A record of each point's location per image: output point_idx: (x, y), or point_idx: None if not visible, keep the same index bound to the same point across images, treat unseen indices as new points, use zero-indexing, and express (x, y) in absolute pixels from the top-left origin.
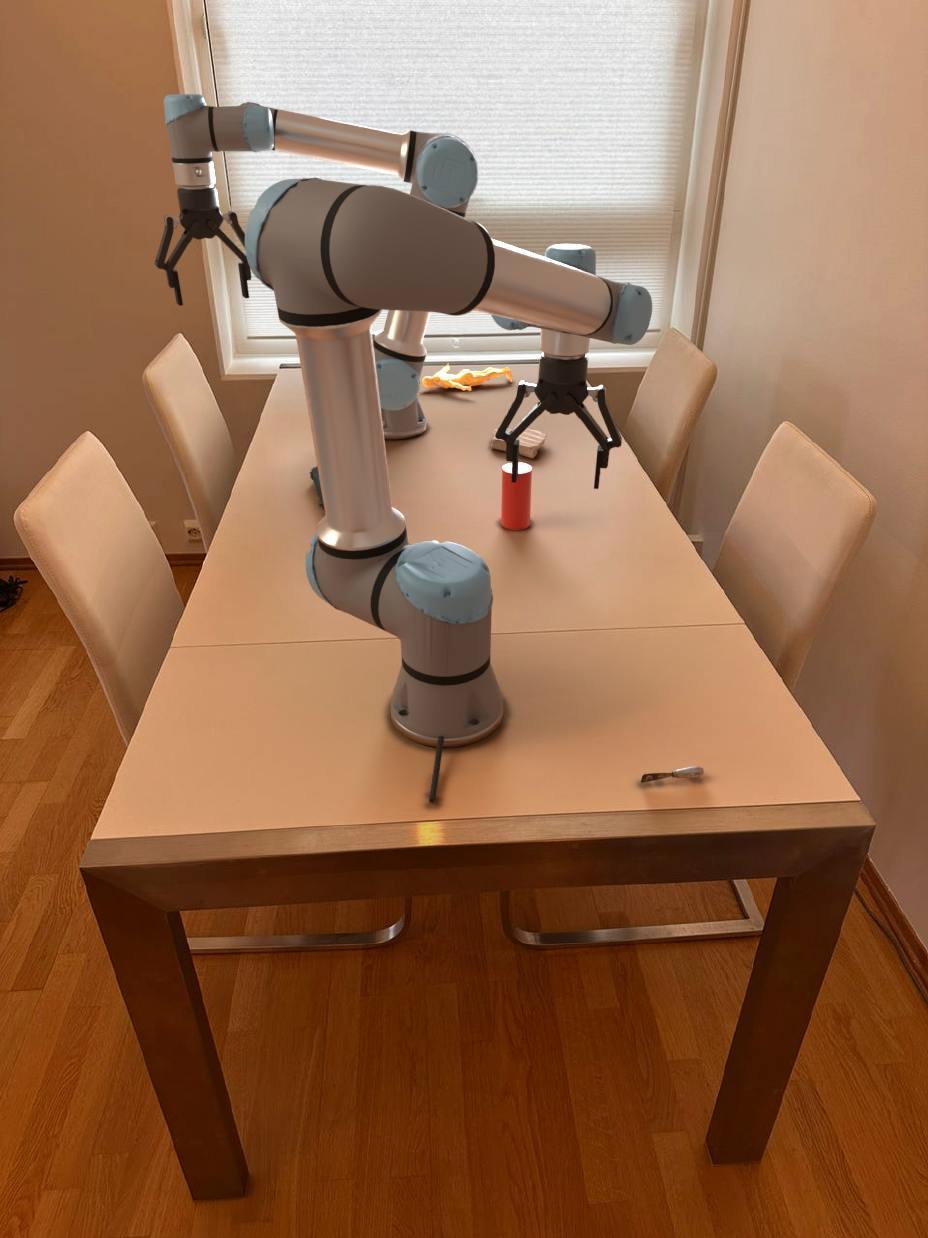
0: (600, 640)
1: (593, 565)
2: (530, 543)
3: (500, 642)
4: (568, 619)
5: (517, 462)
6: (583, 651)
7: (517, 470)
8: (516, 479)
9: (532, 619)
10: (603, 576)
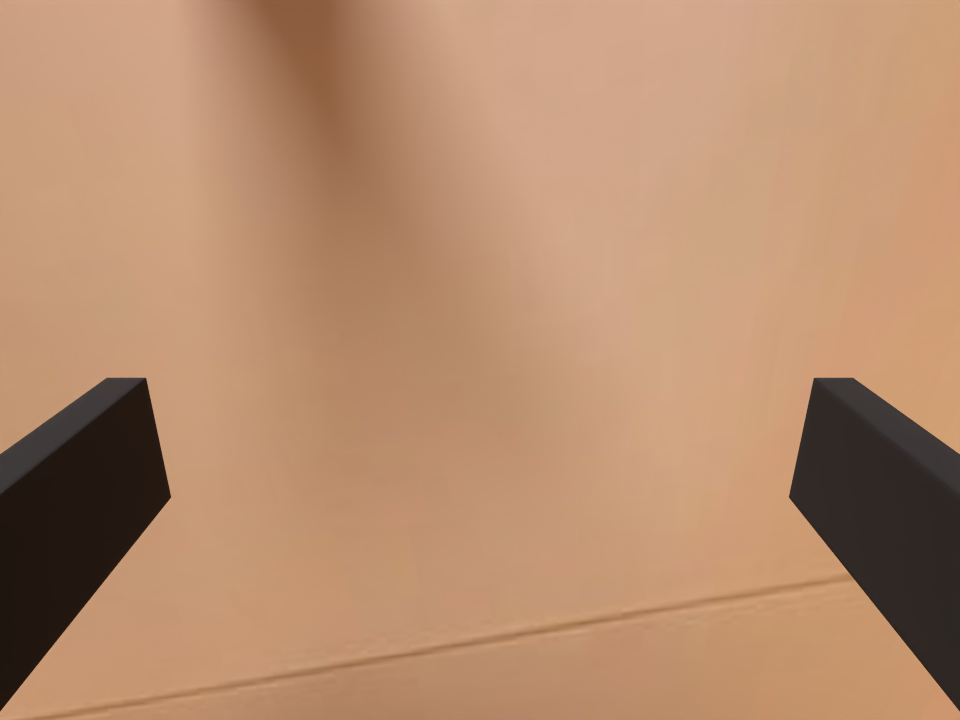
0: (654, 652)
1: (660, 229)
2: (368, 56)
3: (392, 689)
4: (566, 578)
5: (67, 547)
6: (607, 696)
7: (115, 462)
8: (158, 473)
9: (460, 591)
10: (694, 313)
